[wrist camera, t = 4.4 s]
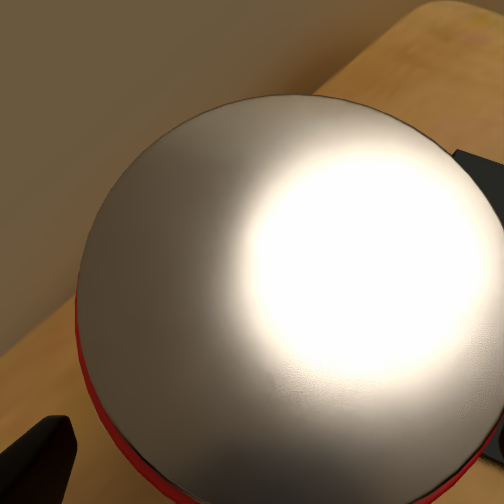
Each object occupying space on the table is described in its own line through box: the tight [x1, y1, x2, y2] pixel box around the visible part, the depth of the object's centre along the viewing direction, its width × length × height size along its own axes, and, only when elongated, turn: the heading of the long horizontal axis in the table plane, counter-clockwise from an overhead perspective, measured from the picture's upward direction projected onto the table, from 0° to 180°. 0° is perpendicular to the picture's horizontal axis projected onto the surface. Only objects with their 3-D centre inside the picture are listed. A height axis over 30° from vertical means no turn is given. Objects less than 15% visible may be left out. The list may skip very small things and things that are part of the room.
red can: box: [75, 94, 504, 504], centre depth 11 cm, size 7×7×13 cm
